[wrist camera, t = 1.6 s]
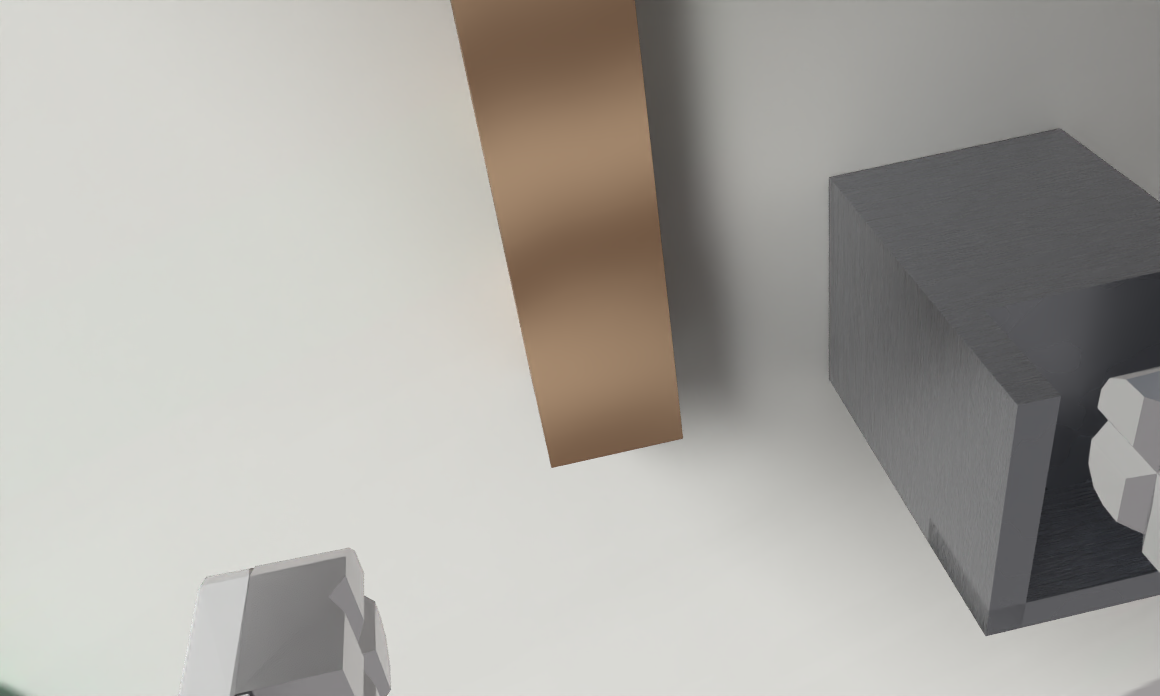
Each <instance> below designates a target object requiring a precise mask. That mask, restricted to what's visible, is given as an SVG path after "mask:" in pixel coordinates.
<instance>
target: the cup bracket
mask: <svg viewBox="0 0 1160 696" xmlns="http://www.w3.org/2000/svg"><path fill="white" fill-rule="evenodd" d="M1159 366H1160V202H1159V201H1158V200H1156V199H1155V198H1154V197H1152V196H1151V195H1150V194H1148V193H1147V192H1146V191H1144V190H1143V189H1142V188H1140V187H1139V186H1137V185H1136V184H1135V183H1133V182H1132V181H1131V180H1129V179H1128V178H1127V177H1125V176H1124V175H1123V174H1121V173H1120V172H1119V171H1117V170H1116V169H1114V168H1113V167H1112V166H1110V165H1109V164H1108V163H1106V162H1105V161H1104V160H1102V159H1101V158H1100V157H1098V156H1097V155H1096V154H1094V153H1093V152H1091V151H1090V150H1089V149H1087V148H1086V147H1085V146H1083V145H1082V144H1081V143H1079V142H1078V141H1077V140H1075V139H1074V138H1073V137H1071V136H1070V135H1069V134H1067V133H1066V132H1064V131H1063V130H1062V129H1056V130H1051V131H1046V132H1041V133H1037V134H1032V135H1027V136H1023V137H1018V138H1013V139H1008V140H1004V141H999V142H994V143H989V144H985V145H980V146H975V147H971V148H966V149H961V150H956V151H952V152H947V153H942V154H937V155H933V156H928V157H923V158H919V159H914V160H909V161H904V162H900V163H895V164H890V165H885V166H881V167H876V168H871V169H867V170H862V171H857V172H852V173H848V174H843V175H838V176H833V177H829V380H830V381H831V383H832V385H833V386H834V388H835V390H836V391H837V393H838V395H839V396H840V398H841V400H842V401H843V403H844V404H845V406H846V408H847V409H848V411H849V413H850V414H851V416H852V418H853V419H854V421H855V422H856V424H857V426H858V427H859V429H860V431H861V432H862V434H863V436H864V437H865V439H866V441H867V442H868V444H869V445H870V447H871V449H872V450H873V452H874V454H875V455H876V457H877V459H878V460H879V462H880V464H881V465H882V467H883V468H884V470H885V472H886V473H887V475H888V477H889V478H890V480H891V482H892V483H893V485H894V486H895V488H896V490H897V491H898V493H899V495H900V496H901V498H902V500H903V501H904V503H905V505H906V506H907V508H908V509H909V511H910V513H911V514H912V516H913V518H914V519H915V521H916V523H917V524H918V526H919V528H920V529H921V531H922V532H923V534H924V536H925V537H926V539H927V541H928V542H929V544H930V546H931V547H932V549H933V551H934V552H935V554H936V555H937V557H938V559H939V560H940V562H941V564H942V565H943V567H944V569H945V570H946V572H947V573H948V575H949V577H950V578H951V580H952V582H953V583H954V585H955V587H956V588H957V590H958V592H959V593H960V595H961V596H962V598H963V600H964V601H965V603H966V605H967V606H968V608H969V610H970V611H971V613H972V615H973V616H974V618H975V619H976V621H977V623H978V624H979V626H980V628H981V629H982V631H983V633H984V634H985V636H988V635H993V634H997V633H1001V632H1005V631H1009V630H1014V629H1018V628H1022V627H1026V626H1030V625H1035V624H1039V623H1043V622H1047V621H1051V620H1056V619H1060V618H1064V617H1068V616H1072V615H1077V614H1081V613H1085V612H1089V611H1093V610H1098V609H1102V608H1106V607H1110V606H1114V605H1118V604H1123V603H1127V602H1131V601H1135V600H1139V599H1144V598H1148V597H1152V596H1156V595H1160V573H1159V571H1158V570H1157V569H1156V568H1155V567H1154V566H1153V564H1152V563H1151V562H1150V561H1149V560H1148V559H1147V557H1146V556H1145V555H1144V554H1143V553H1142V544H1143V534H1142V533H1140V532H1138V531H1136V530H1133V529H1131V528H1129V527H1127V526H1124V525H1122V524H1120V523H1118V522H1116V521H1115V519H1114V518H1113V517H1112V516H1111V514H1110V513H1109V512H1108V511H1107V510H1106V508H1105V507H1104V506H1103V504H1102V502H1101V500H1100V499H1099V497H1098V495H1097V493H1096V491H1095V489H1094V486H1093V482H1092V478H1091V473H1090V469H1089V464H1088V462H1089V455H1090V447H1091V440H1092V439H1093V437H1094V436H1095V435H1096V434H1097V433H1098V432H1099V430H1100V429H1101V428H1102V427H1103V426H1104V425H1105V424H1106V422H1107V421H1108V420H1107V419H1106V417H1105V416H1104V415H1103V414H1102V413H1101V411H1100V410H1099V409H1098V403H1099V398H1100V393H1101V389H1102V388H1103V386H1104V385H1105V384H1106V382H1107V381H1108V380H1109V378H1112V377H1116V376H1120V375H1124V374H1129V373H1133V372H1137V371H1142V370H1146V369H1150V368H1155V367H1159Z"/></svg>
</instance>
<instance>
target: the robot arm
mask: <svg viewBox="0 0 1160 696" xmlns="http://www.w3.org/2000/svg"><path fill="white" fill-rule="evenodd" d="M1098 409H1099V410H1100V411H1101V413H1102V414H1103V415H1104V416H1105V417H1106V419H1107V420H1108V421H1107V422H1106V424H1105V425H1104V426H1103V427H1102V428H1101V429H1100V430H1099V432H1098V433H1097V434H1096V435H1095V436H1094V437H1093V439H1092V440H1091V447H1090V455H1089V462H1088V464H1089V469H1090V473H1091V478H1092V482H1093V486H1094V489H1095V491H1096V493H1097V495H1098V497H1099V499H1100V500H1101V502H1102V504H1103V506H1104V507H1105V508H1106V510H1107V511H1108V512H1109V513H1110V514H1111V516H1112V517H1113V518H1114V519H1115V521H1116V522H1118V523H1120V524H1122V525H1124V526H1127V527H1129V528H1131V529H1133V530H1136V531H1138V532H1140V533H1142V534H1143V544H1142V553H1143V554H1144V555H1145V556H1146V557H1147V559H1148V560H1149V561H1150V562H1151V563H1152V564H1153V566H1154V567H1155V568H1156V569H1157V570H1158V571H1159V573H1160V366H1159V367H1155V368H1150V369H1146V370H1142V371H1137V372H1133V373H1129V374H1124V375H1120V376H1116V377H1112V378H1109V380H1108V381H1107V382H1106V384H1105V385H1104V386H1103V388H1102V389H1101V393H1100V398H1099V403H1098ZM390 690H391V676H390V661H389V654H388V647H387V640H386V635H385V632H384V628H383V624H382V620H381V617H380V614H379V611H378V608H377V606H376V603H375V601H373V600H371V599H370V598H368V597H366V596H364V572H363V569H362V567H361V564H360V562H359V560H358V557H357V555H356V553H355V550H353V549H351V548H345V549H340V550H335V551H330V552H325V553H320V554H315V555H310V556H305V557H300V558H295V559H290V560H285V561H280V562H275V563H270V564H265V565H259V566H255V567H254V568H251V569H246V570H240V571H235V572H230V573H225V574H219V575H214V576H209V577H206V578H205V580H204V581H203V583H202V584H201V586H200V588H199V589H198V593H197V598H196V604H195V609H194V615H193V620H192V625H191V631H190V636H189V642H188V647H187V653H186V658H185V664H184V669H183V675H182V680H181V685H180V691H179V696H387V695H388V693H389V692H390Z"/></svg>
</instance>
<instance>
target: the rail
mask: <svg viewBox="0 0 1160 696" xmlns="http://www.w3.org/2000/svg"><path fill="white" fill-rule="evenodd" d="M450 1H451V6H452V10H453V15H454V20H455V24H456V29H457V34H458V38H459V43H460V48H461V52H462V57H463V62H464V66H465V71H466V76H467V80H468V85H469V90H470V94H471V99H472V104H473V108H474V113H475V118H476V122H477V127H478V132H479V136H480V141H481V146H482V150H483V155H484V159H485V164H486V169H487V173H488V178H489V183H490V187H491V192H492V197H493V201H494V206H495V211H496V215H497V220H498V225H499V229H500V234H501V239H502V243H503V248H504V253H505V257H506V262H507V267H508V271H509V276H510V281H511V285H512V290H513V295H514V299H515V304H516V309H517V313H518V318H519V323H520V327H521V332H522V336H523V341H524V346H525V350H526V355H527V360H528V364H529V369H530V374H531V378H532V383H533V387H534V392H535V396H536V401H537V405H538V410H539V414H540V418H541V423H542V427H543V432H544V436H545V441H546V445H547V450H548V454H549V459H550V463H551V468H553V467H558V466H562V465H567V464H571V463H576V462H580V461H585V460H589V459H594V458H598V457H603V456H607V455H611V454H616V453H620V452H625V451H629V450H634V449H638V448H643V447H647V446H652V445H656V444H661V443H665V442H670V441H674V440H678V439H683V434H682V425H681V416H680V407H679V398H678V389H677V379H676V370H675V361H674V352H673V343H672V334H671V325H670V316H669V307H668V298H667V288H666V279H665V270H664V261H663V252H662V243H661V234H660V225H659V216H658V207H657V198H656V188H655V179H654V170H653V161H652V152H651V143H650V134H649V125H648V116H647V107H646V97H645V88H644V79H643V70H642V61H641V52H640V43H639V34H638V25H637V16H636V7H635V0H450Z"/></svg>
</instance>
